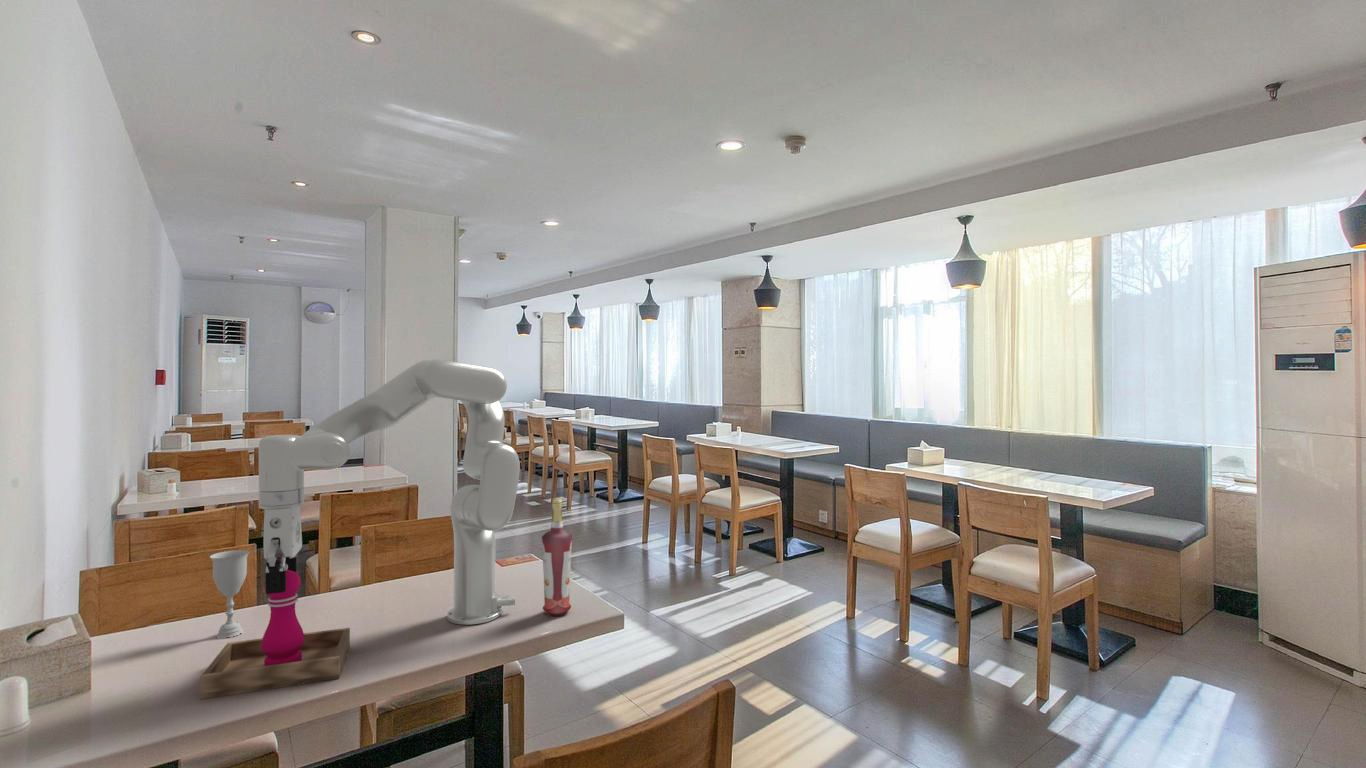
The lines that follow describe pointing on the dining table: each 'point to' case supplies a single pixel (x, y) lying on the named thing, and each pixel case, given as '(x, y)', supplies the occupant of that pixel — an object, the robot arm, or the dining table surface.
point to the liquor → (556, 563)
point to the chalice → (229, 584)
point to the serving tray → (247, 673)
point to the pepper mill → (283, 625)
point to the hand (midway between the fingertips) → (281, 585)
